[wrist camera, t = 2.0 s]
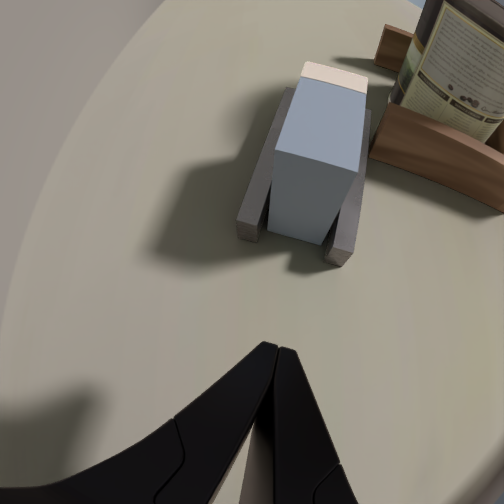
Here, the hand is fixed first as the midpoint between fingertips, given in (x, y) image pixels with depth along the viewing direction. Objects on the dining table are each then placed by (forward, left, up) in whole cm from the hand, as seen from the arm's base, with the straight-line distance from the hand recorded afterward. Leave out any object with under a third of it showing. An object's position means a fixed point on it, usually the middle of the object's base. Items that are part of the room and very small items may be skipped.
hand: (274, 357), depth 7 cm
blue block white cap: (+11, 0, -10) cm, 15 cm away
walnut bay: (+24, -10, -10) cm, 28 cm away
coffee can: (+24, -10, -10) cm, 28 cm away
